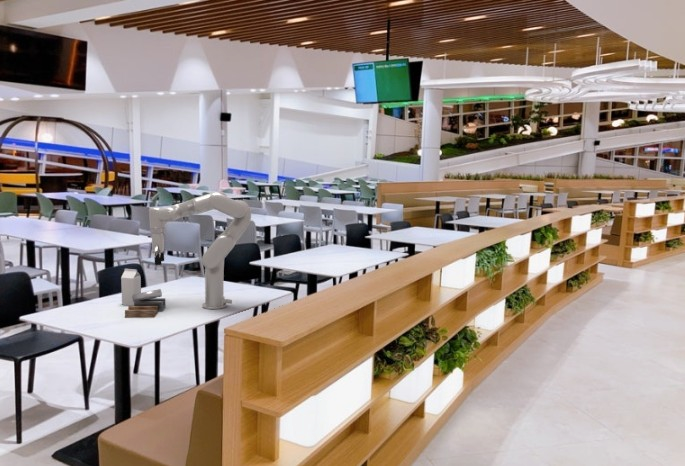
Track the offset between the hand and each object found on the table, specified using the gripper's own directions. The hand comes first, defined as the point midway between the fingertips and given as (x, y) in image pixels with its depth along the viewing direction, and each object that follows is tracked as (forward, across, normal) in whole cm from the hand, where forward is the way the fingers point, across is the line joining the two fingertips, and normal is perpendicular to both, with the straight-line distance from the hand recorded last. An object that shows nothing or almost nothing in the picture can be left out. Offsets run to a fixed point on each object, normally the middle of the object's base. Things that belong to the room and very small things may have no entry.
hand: (159, 263), depth 304 cm
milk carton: (+23, -4, -16) cm, 28 cm away
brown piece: (+23, +17, -7) cm, 30 cm away
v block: (+23, +7, -5) cm, 25 cm away
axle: (+17, +7, -6) cm, 20 cm away
